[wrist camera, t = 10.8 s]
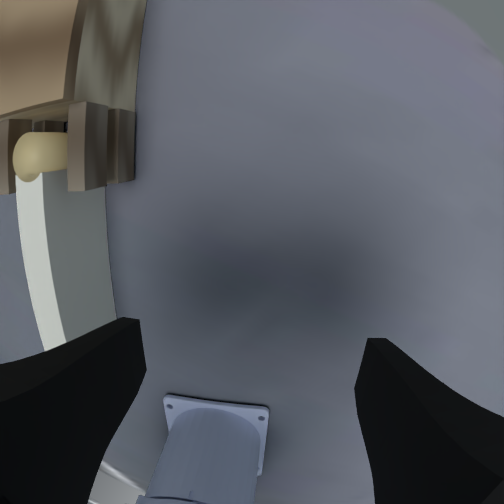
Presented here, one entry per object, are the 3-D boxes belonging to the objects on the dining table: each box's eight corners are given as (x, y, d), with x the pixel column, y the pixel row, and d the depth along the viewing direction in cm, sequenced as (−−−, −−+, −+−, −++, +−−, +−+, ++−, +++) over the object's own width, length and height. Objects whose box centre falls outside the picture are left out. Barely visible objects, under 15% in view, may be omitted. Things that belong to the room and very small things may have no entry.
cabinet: (136, 179, 18) (65, 196, 11) (-22, 188, 19) (-83, 205, 12) (150, -6, 14) (98, -57, 7) (-13, 51, 15) (-71, 42, 9)
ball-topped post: (128, 370, 22) (94, 422, 16) (102, 364, 22) (65, 412, 16) (107, 132, 17) (45, 129, 11) (77, 135, 17) (13, 135, 11)
